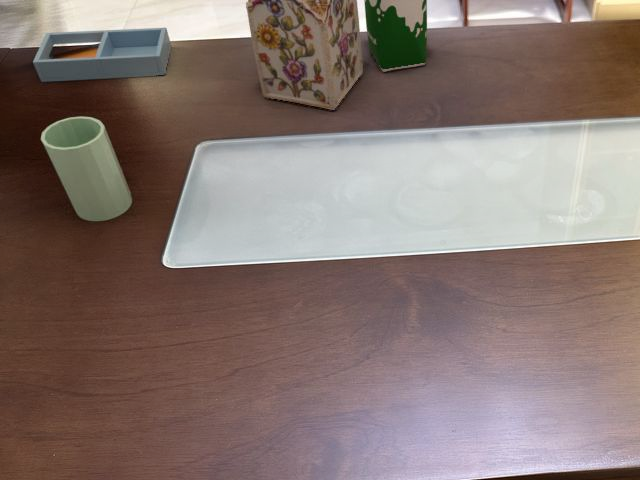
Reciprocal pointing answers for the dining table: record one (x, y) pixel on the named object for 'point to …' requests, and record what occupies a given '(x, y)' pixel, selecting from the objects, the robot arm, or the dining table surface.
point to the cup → (87, 167)
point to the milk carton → (397, 31)
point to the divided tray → (104, 55)
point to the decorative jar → (306, 49)
